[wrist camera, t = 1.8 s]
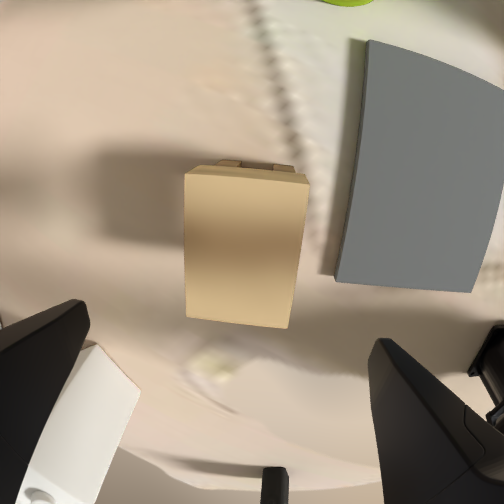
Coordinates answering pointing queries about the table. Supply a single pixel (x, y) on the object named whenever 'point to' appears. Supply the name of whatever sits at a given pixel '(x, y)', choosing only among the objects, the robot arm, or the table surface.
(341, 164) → the table surface
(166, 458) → the table surface
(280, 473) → the walkie-talkie
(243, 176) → the oak stool
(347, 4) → the soap dispenser
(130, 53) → the table surface
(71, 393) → the milk carton
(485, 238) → the grey rectangular board
